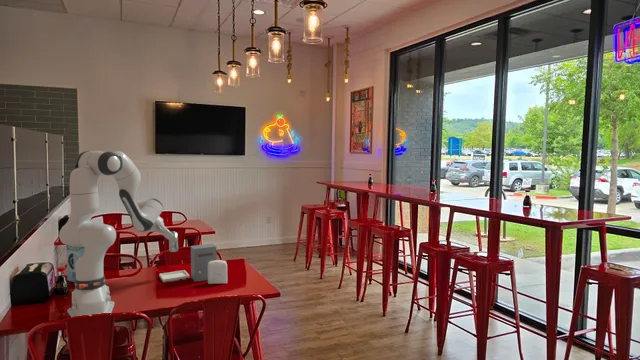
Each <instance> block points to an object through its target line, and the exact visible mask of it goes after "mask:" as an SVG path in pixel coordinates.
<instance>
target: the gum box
mask: <svg viewBox="0 0 640 360" xmlns="http://www.w3.org/2000/svg"><path fill="white" fill-rule="evenodd" d="M65 248H66V274H67V276H66V277H67V281H69V282H73V283H75V279H76V269H75V263H76V261H77V260H78V259H79V258H80V257H82V256H83V255H84V251H85V248H84V247H72V246H69V245H66V244H65Z"/></svg>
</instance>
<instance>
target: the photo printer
mask: <svg viewBox="0 0 640 360" xmlns="http://www.w3.org/2000/svg"><path fill="white" fill-rule="evenodd" d="M207 284H208V285H214V284H215V285H216V284H217V285H218V284H228V264H227V260H222V259H217V260H214V261H210V262H209V263H208V280H207Z"/></svg>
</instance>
